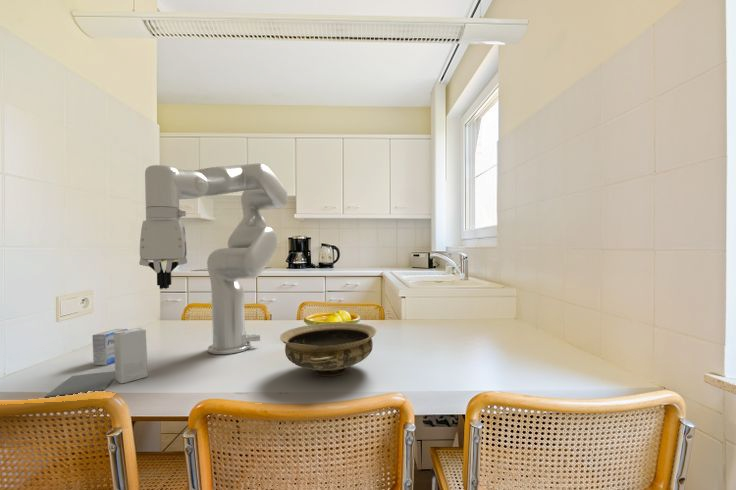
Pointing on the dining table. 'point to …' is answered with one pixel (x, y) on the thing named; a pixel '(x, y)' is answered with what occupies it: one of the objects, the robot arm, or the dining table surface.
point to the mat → (84, 383)
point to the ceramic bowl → (328, 346)
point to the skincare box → (130, 355)
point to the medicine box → (104, 347)
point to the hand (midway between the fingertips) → (164, 288)
